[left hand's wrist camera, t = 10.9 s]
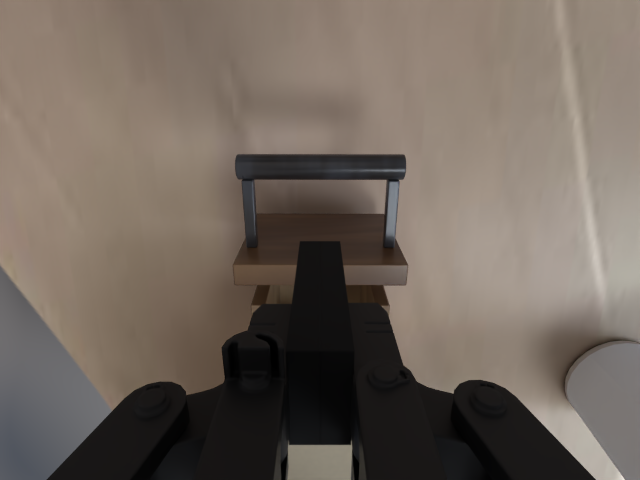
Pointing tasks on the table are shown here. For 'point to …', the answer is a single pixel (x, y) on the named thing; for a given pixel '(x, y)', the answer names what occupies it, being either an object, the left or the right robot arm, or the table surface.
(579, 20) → the table surface
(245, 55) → the table surface
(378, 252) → the drawer
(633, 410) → the mug
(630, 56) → the table surface
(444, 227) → the table surface
